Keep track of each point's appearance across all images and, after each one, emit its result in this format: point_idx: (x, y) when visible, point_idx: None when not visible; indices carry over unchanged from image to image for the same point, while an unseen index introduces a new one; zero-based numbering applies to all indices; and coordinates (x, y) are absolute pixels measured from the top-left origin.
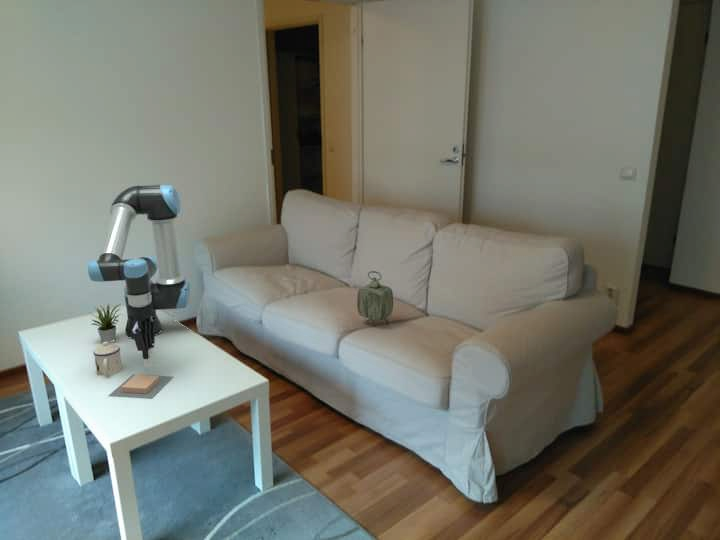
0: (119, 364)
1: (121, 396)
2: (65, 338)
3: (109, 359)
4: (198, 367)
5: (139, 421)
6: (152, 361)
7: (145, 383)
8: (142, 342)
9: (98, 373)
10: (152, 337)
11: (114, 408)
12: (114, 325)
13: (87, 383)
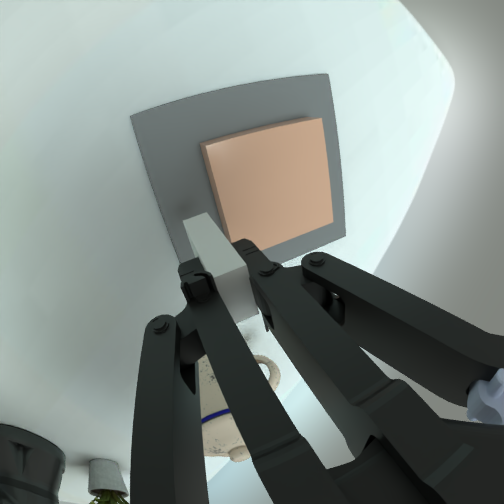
0: (201, 369)
1: (340, 193)
2: None
3: None
4: (6, 103)
5: (411, 52)
6: (193, 227)
7: (288, 151)
8: (388, 293)
9: None
10: (176, 366)
11: (386, 162)
12: (90, 492)
13: None
